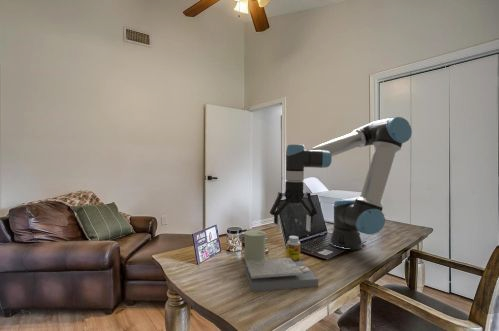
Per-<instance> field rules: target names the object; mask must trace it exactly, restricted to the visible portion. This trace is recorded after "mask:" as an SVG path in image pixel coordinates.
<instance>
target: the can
mask: <svg viewBox="0 0 499 331" xmlns="http://www.w3.org/2000/svg"><path fill="white" fill-rule="evenodd" d="M243 259H244V261H245V260H259V259H266V232H265V231H264V230H260V229H250V230H245V231H244V257H243Z"/></svg>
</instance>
